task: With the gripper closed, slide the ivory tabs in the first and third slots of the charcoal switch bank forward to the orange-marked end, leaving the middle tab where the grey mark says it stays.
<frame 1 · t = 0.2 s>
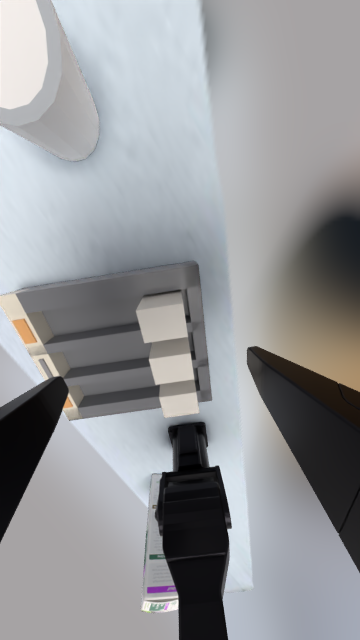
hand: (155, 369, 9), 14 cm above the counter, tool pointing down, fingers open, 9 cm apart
tab 2: (172, 354, 20), point 4 cm above the counter, slide at 0.0 cm
switch bank: (128, 341, 24), on the counter
white cup: (66, 120, 15), on the counter
tab 3: (164, 312, 18), point 4 cm above the counter, slide at 0.0 cm
syrup box: (164, 479, 38), on the counter
tab 1: (178, 387, 22), point 4 cm above the counter, slide at 0.0 cm
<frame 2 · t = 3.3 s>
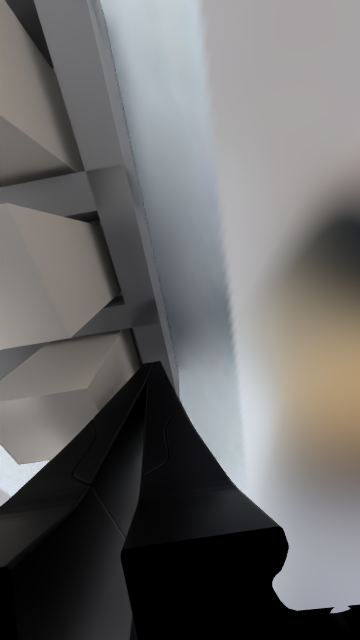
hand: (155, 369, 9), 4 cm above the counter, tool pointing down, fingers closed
tab 2: (39, 276, 7), point 4 cm above the counter, slide at 0.0 cm
tab 1: (83, 378, 9), point 4 cm above the counter, slide at 0.2 cm, touching gripper
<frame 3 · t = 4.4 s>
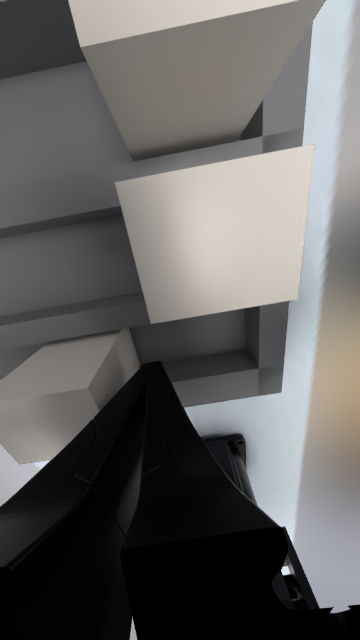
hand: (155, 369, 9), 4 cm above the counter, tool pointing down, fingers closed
tab 2: (201, 246, 7), point 4 cm above the counter, slide at 0.0 cm
switch bank: (92, 263, 11), on the counter
tab 3: (179, 41, 5), point 4 cm above the counter, slide at 0.0 cm
tab 1: (83, 378, 9), point 4 cm above the counter, slide at 6.5 cm, touching gripper
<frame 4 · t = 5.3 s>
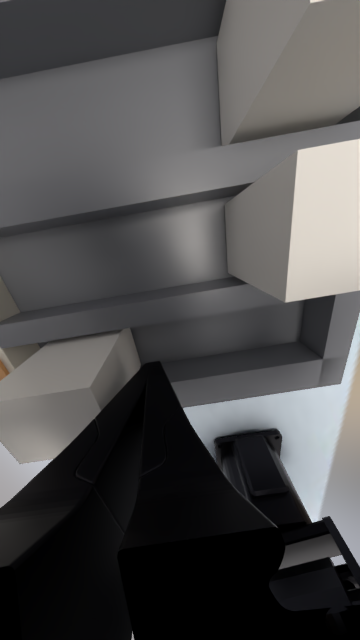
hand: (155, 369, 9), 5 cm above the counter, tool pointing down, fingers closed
tab 2: (300, 230, 7), point 4 cm above the counter, slide at 0.0 cm
switch bank: (152, 252, 11), on the counter
tab 3: (322, 15, 5), point 4 cm above the counter, slide at 0.0 cm
tab 1: (84, 378, 9), point 4 cm above the counter, slide at 10.1 cm, touching gripper
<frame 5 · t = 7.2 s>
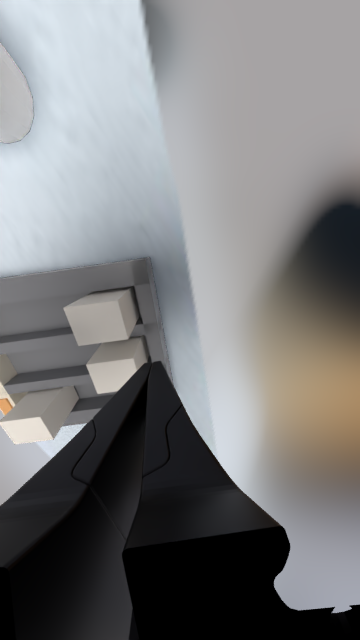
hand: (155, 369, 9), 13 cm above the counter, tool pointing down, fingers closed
tab 2: (122, 359, 18), point 4 cm above the counter, slide at 0.0 cm
switch bank: (83, 345, 22), on the counter
tab 3: (108, 312, 16), point 4 cm above the counter, slide at 0.0 cm
tab 1: (44, 408, 20), point 4 cm above the counter, slide at 10.1 cm
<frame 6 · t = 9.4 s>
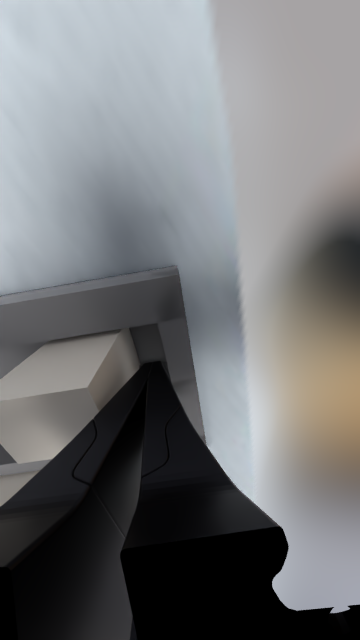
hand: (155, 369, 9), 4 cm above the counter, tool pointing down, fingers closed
switch bank: (76, 396, 15), on the counter
tab 3: (83, 377, 9), point 4 cm above the counter, slide at 1.5 cm, touching gripper
tab 1: (20, 502, 13), point 4 cm above the counter, slide at 10.1 cm
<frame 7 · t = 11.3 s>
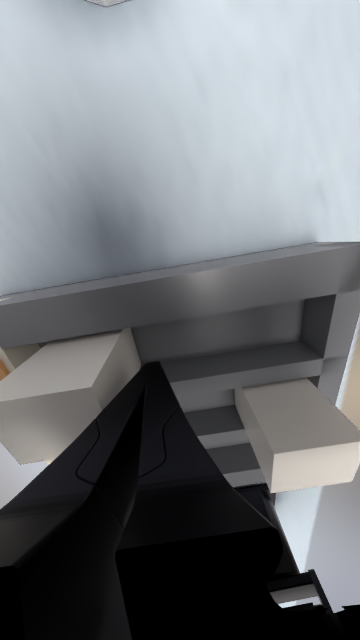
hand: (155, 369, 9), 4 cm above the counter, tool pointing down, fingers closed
tab 2: (282, 416, 11), point 4 cm above the counter, slide at 0.0 cm
switch bank: (179, 380, 15), on the counter
tab 3: (85, 378, 9), point 4 cm above the counter, slide at 10.1 cm, touching gripper
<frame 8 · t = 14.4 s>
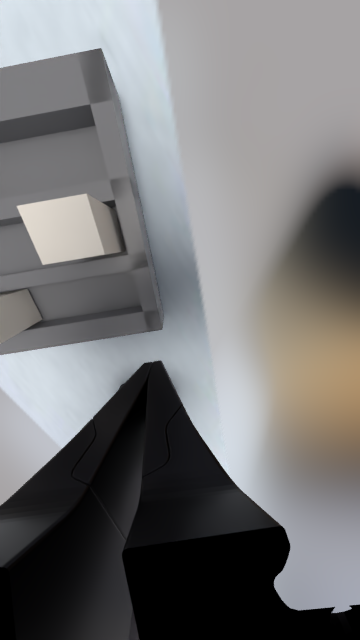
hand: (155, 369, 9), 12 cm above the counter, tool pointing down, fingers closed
tab 2: (83, 233, 13), point 4 cm above the counter, slide at 0.0 cm
switch bank: (43, 246, 17), on the counter
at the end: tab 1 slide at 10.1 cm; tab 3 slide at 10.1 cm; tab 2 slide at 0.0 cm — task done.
